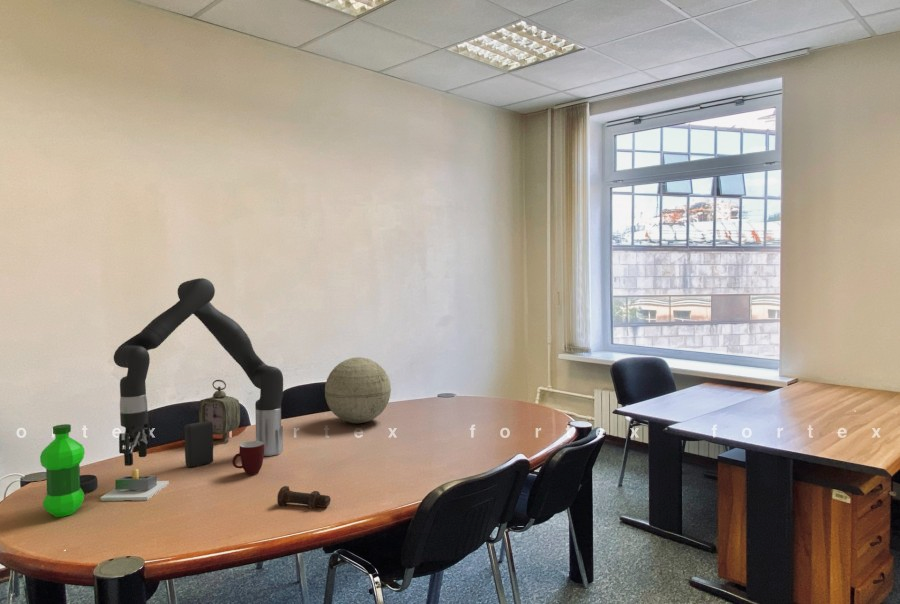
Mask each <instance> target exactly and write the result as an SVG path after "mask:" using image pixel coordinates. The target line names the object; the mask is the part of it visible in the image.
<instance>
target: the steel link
mask: <svg viewBox="0 0 900 604" xmlns="http://www.w3.org/2000/svg"><path fill="white" fill-rule="evenodd" d="M157 481H158V475H139V479H132V475H124V476H121V477H119V478H117V479H115V483H114V488H115V490H131V489H150V488H152V487H154V486H156V485H157Z"/></svg>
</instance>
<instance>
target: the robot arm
mask: <svg viewBox="0 0 900 604" xmlns="http://www.w3.org/2000/svg"><path fill="white" fill-rule="evenodd" d="M215 293H216V289H215V285H214V283H213V282H212V281H210V280H209V279H208V278H203V277H202V278H193V279H190V280H187V281H183V282H182V283H180V284H179V286H178V288H177V297H178V299H179V300H178V301H177V302H176V303H174V304H173V305H172V306H170V307H169V308H167V310H165V311H163V312H161V313H160V314H159V315H157V316H156V317H155V318H153V319H152V320H151V321H150V322H149V323H148V324H147V325H146V326H145V327H144V328H143V329H142V330H141V331H139V333H137V334H136V335H133V336H132V337H131V338H129V339H127V340H126V341H124V342H123V343H122V344H121V345H119V346H118V348H117V349H116V350H115V352H114V354H113V362H114V363H115V365H117V366H118V367H119V368H123V369H125V368H126V369H127V373H126V375H125V376H123V377H121V378H120V382H119V395H120V396H119V398H120V400H119V418H120V427H123V428H125V431H124V433H122V432H121V433H119V435H118V440H119V441H118V449H119V450H118V452H119V454H123V457H124V466H125V467H130V466H133V464H134V455H133V451H134V448H135V447H136V446H137V444H138V446H137V447H138V448H137V449H138V457H139V458H146V457H147V455H148V453H147V445H148V442H150V441H151V433H150V432H151V431H150V430H151V429H150V428H151V427H150V423H149V414H148V413H149V412H148V411H149V409H148V399H147V390H146V389H147V388H146V387H147V385H146V379H147V376H148V372H149V367H150V361H151V359H150V354H149V351H150V350H154V349H156V348H158V347H159V346H161V344H162V343H163V342H164V341H166V339H167V338H168V337H170V335H171V334H172V333H174V332H175V330H176V329H177V328H178V327H179V326H181V325H182V324H183V323H184V322H185V321H186V320H187V319H189V317H190V316H192V315H194V316H195V317H196V318H197V319H198V320H199V321H200V322H201V324H202V325H204V327H205V328H206V329H207V331H208V332H209V333H210V334H211V335H213V337H214V338H215V340H216V341H217V342H218V343H219V345H221V347H222V348H223V349H224V350H225V351H226V352H227V353H228V354H229V355H230V356H231V358H232V359H233V360H234V361H235V362H236V363H237V364H238V365H239V366H240V367H241V368H242V370H243V372H244V373H245V374H246V376H247V377H248V379H249V380H250V382H251V383H252V384H253V386H254V387H256V388H257V389H260V392H259V393H260V394H259V395H260V396H259V399H257V400H256V401H255V402H254V403H255V406H254V407H255V441H262V442H264V457H269V456H270V457H271V456H276V455H277V456H278V455H280V454H281V453H282V452H283V451H284V442H283V441H284V439H283V438H284V437H283V436H284V435H283V434H284V433H283V431H284V428H283V425H282V405H281V404H282V402H283V397H284V375H283V373H282V371H281V369H279V368H278V367H275V366H272V365H267V364H266V363H265V362H264V361H263V360H262V359H261V358H260V357H259V356H258V354H257V353H256V352H255V350H254V348H253V344H252V341H251V339H250V337H249V335H248V334H247V332H246V331H245V330H244V329H243V328H242V326H241V325H240V324H239V323H238V322H236V321H235V320H234V319H233V318H231V317H230V316H228V315H226V314H224V313H223V312H221V311H220V310H218V309H217V308H216V307H215V306H214V305H213V304H212V303H211V301H212V300H213V298H214V296H215Z"/></svg>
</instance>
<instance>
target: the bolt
mask: <svg viewBox="0 0 900 604" xmlns="http://www.w3.org/2000/svg"><path fill="white" fill-rule="evenodd" d="M276 502H277V505H278V506H280V507H285V506H286V505H287V504H298V505H306V506H308V507H309V509H316V508H319V507H324V508H327V507H329V505H330V504H331V496H330V495H327V494H326V495H325V494H321V493H320V492H319V490H313V491H312V492H311V491H310V493H308V492H302V491H301V492H299V491H293V490H290V486H289V485H288V486H287V485H284V486H282V487H280V489H279V491H278V493H277V501H276Z"/></svg>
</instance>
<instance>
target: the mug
mask: <svg viewBox="0 0 900 604" xmlns="http://www.w3.org/2000/svg"><path fill="white" fill-rule="evenodd" d="M238 451H239V453H236V454H235V455H234V456H233V458H232V460H231V461H232V465H233V467H234V468H236V469H243V471H244V473H246V475H248V476H254V475H257V474H259V472H260V471H261V469H262V467H263V463H264V458H265V456H264V442H262V441H256V440H250V441H245V442H242V443H240V444H239V450H238ZM238 458H240V461H241V465H237V459H238Z"/></svg>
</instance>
